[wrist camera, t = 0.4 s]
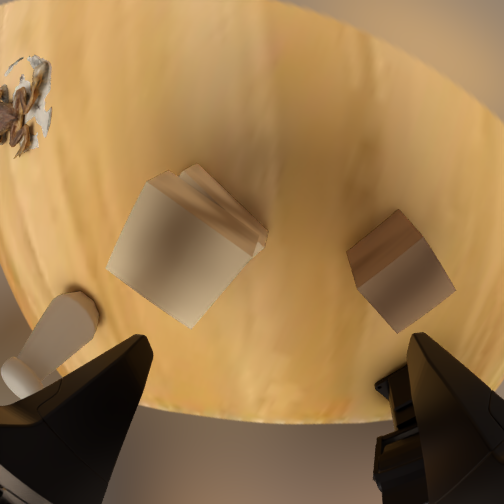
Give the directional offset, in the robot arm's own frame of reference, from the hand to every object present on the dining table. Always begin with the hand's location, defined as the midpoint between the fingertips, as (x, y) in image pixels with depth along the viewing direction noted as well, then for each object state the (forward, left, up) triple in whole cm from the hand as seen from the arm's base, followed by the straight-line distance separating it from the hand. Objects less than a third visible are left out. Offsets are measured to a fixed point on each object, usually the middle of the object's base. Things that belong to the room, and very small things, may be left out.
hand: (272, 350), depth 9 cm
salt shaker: (+8, +22, -13) cm, 27 cm away
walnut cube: (-7, -4, -13) cm, 15 cm away
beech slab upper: (+4, +5, -10) cm, 12 cm away
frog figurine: (+26, +10, -14) cm, 31 cm away
